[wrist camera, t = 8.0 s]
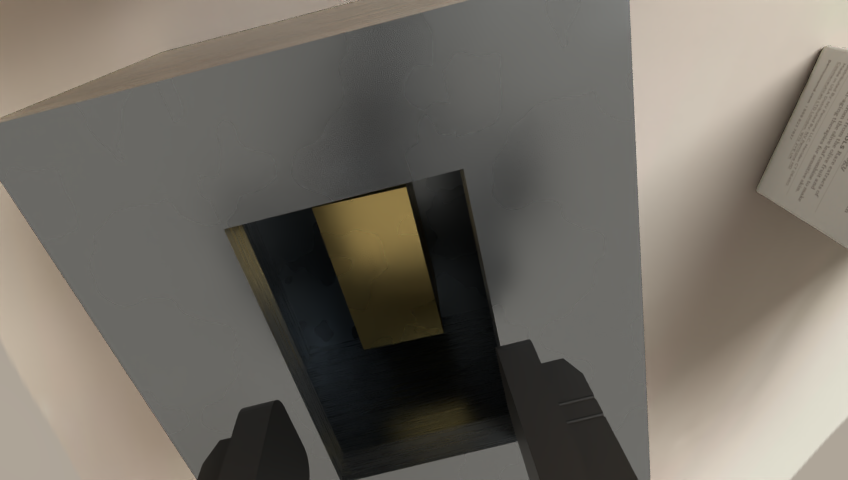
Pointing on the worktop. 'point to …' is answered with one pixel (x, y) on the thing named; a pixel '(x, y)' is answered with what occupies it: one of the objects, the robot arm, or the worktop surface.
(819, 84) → the skincare box
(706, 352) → the worktop surface
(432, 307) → the wooden block
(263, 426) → the robot arm
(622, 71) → the box
